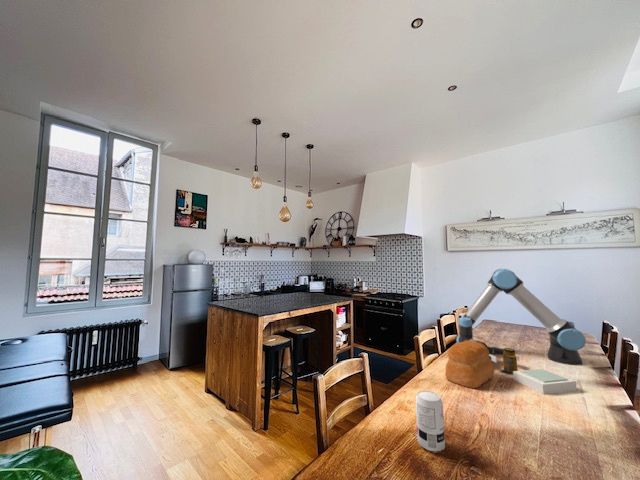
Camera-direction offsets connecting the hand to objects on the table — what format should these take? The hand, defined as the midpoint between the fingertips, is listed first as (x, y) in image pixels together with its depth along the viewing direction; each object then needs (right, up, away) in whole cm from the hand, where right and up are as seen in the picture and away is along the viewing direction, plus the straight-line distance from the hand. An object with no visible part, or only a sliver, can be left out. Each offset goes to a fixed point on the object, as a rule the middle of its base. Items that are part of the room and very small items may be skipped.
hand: (507, 359), depth 141 cm
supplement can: (-65, -2, -56) cm, 86 cm away
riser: (+6, -5, -15) cm, 18 cm away
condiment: (+1, -7, -1) cm, 7 cm away
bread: (-24, -7, -7) cm, 26 cm away
